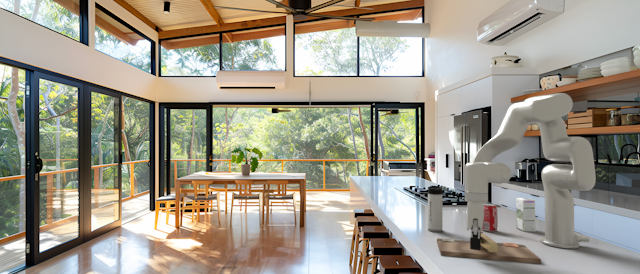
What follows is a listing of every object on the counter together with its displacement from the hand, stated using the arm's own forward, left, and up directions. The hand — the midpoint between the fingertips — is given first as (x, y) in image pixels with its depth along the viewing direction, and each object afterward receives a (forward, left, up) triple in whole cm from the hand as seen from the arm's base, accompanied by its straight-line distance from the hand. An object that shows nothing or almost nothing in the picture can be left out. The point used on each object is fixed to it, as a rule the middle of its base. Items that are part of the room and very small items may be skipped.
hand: (475, 246), depth 118 cm
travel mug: (+11, -33, -3) cm, 35 cm away
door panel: (-4, -5, -3) cm, 7 cm away
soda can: (-13, -40, -3) cm, 42 cm away
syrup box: (-30, -46, -3) cm, 55 cm away
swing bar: (-4, -4, -1) cm, 6 cm away
